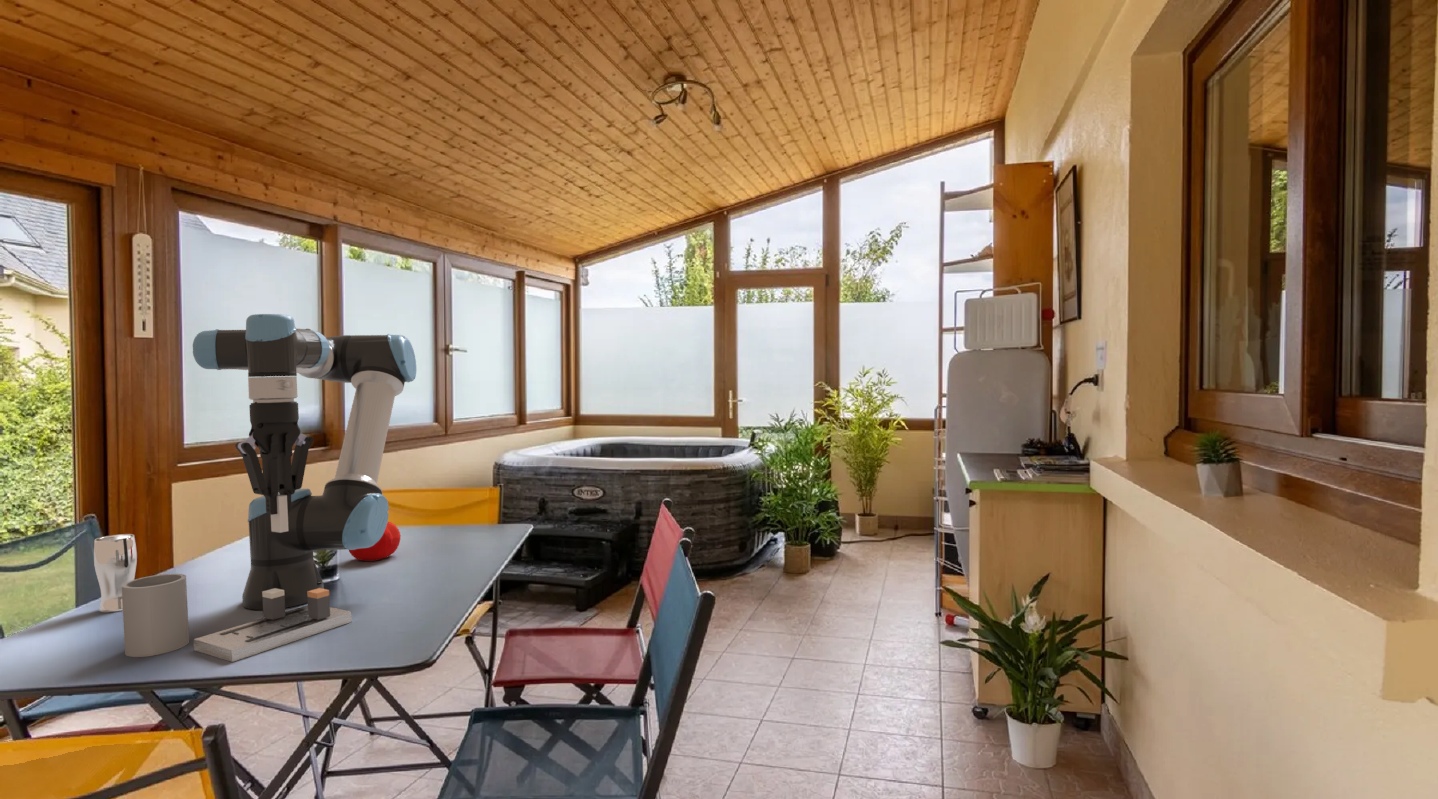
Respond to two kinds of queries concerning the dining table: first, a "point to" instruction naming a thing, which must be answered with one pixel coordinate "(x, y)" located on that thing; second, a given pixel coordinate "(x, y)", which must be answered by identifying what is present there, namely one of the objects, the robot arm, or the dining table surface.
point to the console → (267, 633)
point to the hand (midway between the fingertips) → (279, 531)
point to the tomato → (380, 545)
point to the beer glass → (114, 568)
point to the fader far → (273, 603)
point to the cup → (155, 615)
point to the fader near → (318, 603)
